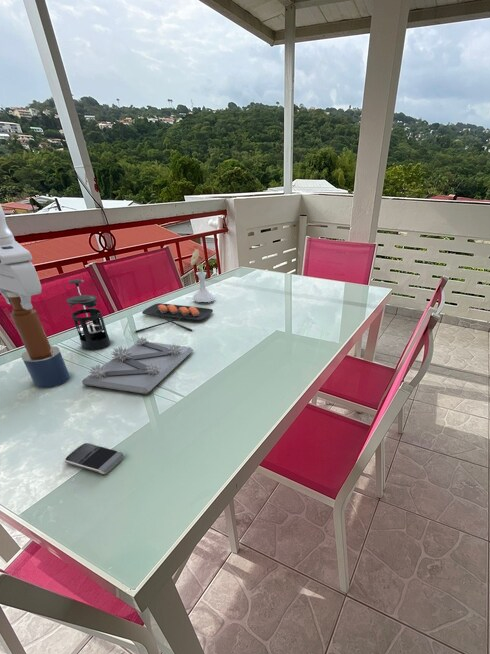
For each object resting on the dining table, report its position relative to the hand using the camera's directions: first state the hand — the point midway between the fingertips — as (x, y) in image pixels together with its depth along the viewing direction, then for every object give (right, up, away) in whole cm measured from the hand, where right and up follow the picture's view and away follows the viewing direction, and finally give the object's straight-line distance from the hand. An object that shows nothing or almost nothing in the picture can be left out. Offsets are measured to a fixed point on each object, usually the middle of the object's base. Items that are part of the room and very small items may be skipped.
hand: (20, 306), depth 87 cm
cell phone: (+28, -38, -14) cm, 50 cm away
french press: (0, -5, +34) cm, 34 cm away
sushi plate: (+18, +9, +55) cm, 59 cm away
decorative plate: (+23, -15, +21) cm, 34 cm away
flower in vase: (+26, +24, +78) cm, 86 cm away
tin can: (-1, -19, +13) cm, 23 cm away
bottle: (-1, -11, +8) cm, 14 cm away
